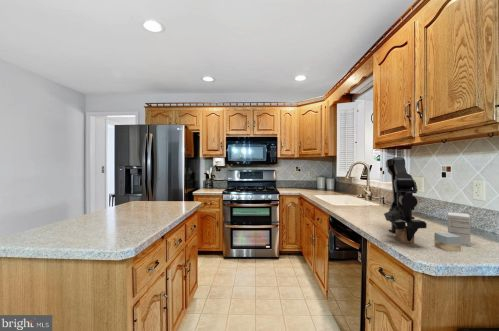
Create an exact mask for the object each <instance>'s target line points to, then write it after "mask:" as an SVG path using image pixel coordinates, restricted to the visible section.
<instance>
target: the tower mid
mask: <svg viewBox="0 0 499 331" xmlns="http://www.w3.org/2000/svg"><path fill="white" fill-rule="evenodd" d="M433 234H434V240H436V241H439V242H442V243H444V244H447V245H448V244H461V237H460V236H457V235H454V234H451V233H448V231H447V232H434V233H433Z"/></svg>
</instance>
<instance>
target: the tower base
mask: <svg viewBox="0 0 499 331" xmlns="http://www.w3.org/2000/svg"><path fill="white" fill-rule="evenodd" d="M433 242H434V247H436V248H438V249H441V250H443V251H445V252H460V251H462V245H461V244H448V245H447V244H444V243H442V242H439V241H436V240H434V241H433Z"/></svg>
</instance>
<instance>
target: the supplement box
mask: <svg viewBox="0 0 499 331" xmlns="http://www.w3.org/2000/svg"><path fill="white" fill-rule="evenodd" d="M447 232H448V233H451V234H454V235H457V236H460V237H461V246H465V247H471V244H472V243H471V240H472V239H471V216H470V215H469V213H462V212H460V213H459V212H447Z"/></svg>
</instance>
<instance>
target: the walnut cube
mask: <svg viewBox="0 0 499 331" xmlns="http://www.w3.org/2000/svg"><path fill="white" fill-rule="evenodd" d="M395 241H396V242H399V243H402V244H414V243H415V235H414V236H413V238H412V239H411V241H408V240H407V231H406V229H396V233H395Z"/></svg>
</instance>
